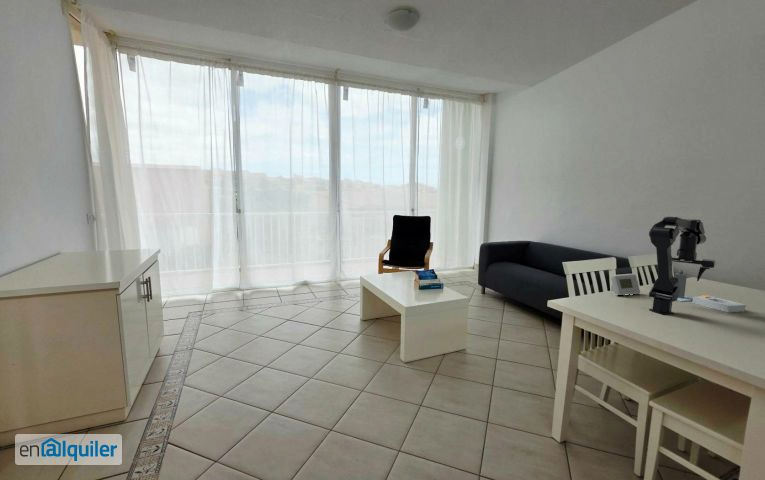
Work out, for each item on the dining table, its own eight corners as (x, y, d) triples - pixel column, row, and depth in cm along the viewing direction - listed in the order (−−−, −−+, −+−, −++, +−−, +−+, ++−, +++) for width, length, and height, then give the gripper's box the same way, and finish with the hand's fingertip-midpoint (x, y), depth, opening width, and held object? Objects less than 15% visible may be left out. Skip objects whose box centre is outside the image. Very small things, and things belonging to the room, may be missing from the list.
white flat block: (727, 312, 143) (729, 304, 143) (692, 302, 157) (693, 295, 157) (744, 311, 145) (746, 303, 145) (708, 301, 159) (709, 294, 159)
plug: (682, 298, 162) (685, 271, 160) (672, 296, 165) (675, 270, 163) (684, 297, 164) (687, 270, 162) (673, 295, 167) (676, 269, 165)
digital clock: (616, 297, 166) (618, 277, 165) (603, 292, 175) (604, 273, 174) (645, 296, 167) (647, 276, 166) (631, 291, 176) (633, 272, 175)
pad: (680, 301, 159) (681, 300, 159) (659, 295, 168) (660, 294, 168) (696, 300, 161) (697, 299, 160) (675, 294, 170) (675, 293, 170)
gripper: (719, 246, 146) (715, 279, 148) (665, 242, 161) (662, 272, 163) (715, 249, 139) (711, 284, 141) (660, 244, 154) (656, 276, 156)
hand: (684, 279), depth 151 cm, fingers open, 9 cm apart
